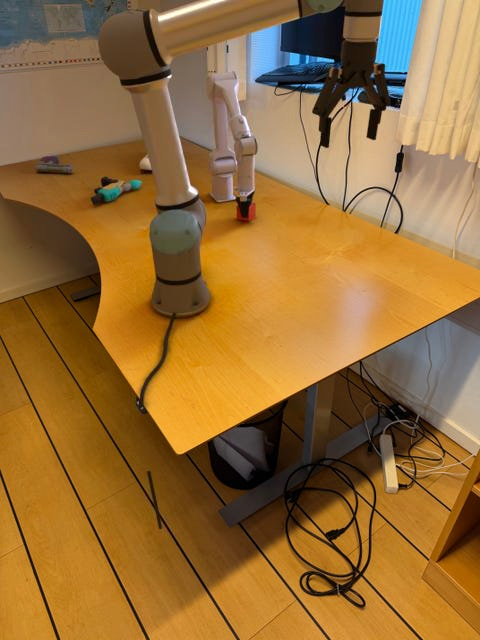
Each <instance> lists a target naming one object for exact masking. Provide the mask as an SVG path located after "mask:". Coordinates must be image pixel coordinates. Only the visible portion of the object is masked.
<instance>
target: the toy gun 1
mask: <svg viewBox="0 0 480 640" xmlns="http://www.w3.org/2000/svg"><path fill="white" fill-rule="evenodd" d="M34 170H35V171H37V172H39V173H41V172H43V173H54V174H55V173H56V174H73V170H74V165H71V164H66V163H65V164H63V163H62V164H61V163H60V158H59V156H58V155H45V156H43V157H41V159H40V162H36V165H35V167H34Z"/></svg>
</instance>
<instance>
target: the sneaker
mask: <svg viewBox="0 0 480 640" xmlns="http://www.w3.org/2000/svg"><path fill="white" fill-rule="evenodd" d="M139 169H141V170H144V171H152V169H151V165H150V162H149V158H148V155H147V154H146V155H145V156H144V157H143V158H142V159H141V160H140V162H139Z"/></svg>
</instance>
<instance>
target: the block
mask: <svg viewBox="0 0 480 640" xmlns="http://www.w3.org/2000/svg"><path fill="white" fill-rule="evenodd" d="M256 204H257V203H255V202H252V203H251V204H250V208H249V214H248V218H242V217H241V213H240V209H239V206H238V204H236V219H237V220H242V221H246V222H250V221H251V220H252V219H254V218H255V217H256V211H257V210H256V208H257V207H256Z"/></svg>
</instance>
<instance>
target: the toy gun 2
mask: <svg viewBox="0 0 480 640" xmlns="http://www.w3.org/2000/svg"><path fill="white" fill-rule="evenodd" d="M100 184H101V187H100V186H98V187H96V188H94V189H93V192H94V194H95V195H93V196H91V197H90V200H91V203H92V205H93V206H95V205H96V204H99V203H100V202H103V201H104V202H106V203H107V202H112V201H113V200H115V199H117V198H118V197H119V196H120V195H121V194H122V193H126V192H128V191H130V190H132V191H136V190H139V188H140V187H141V186H142V184H143V183H142V181H141V180H138V179H132V180H131V179H130V181H129V182H125V181H124V180H121V179H112V178H109V177H108V176H103V177H101V179H100Z"/></svg>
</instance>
